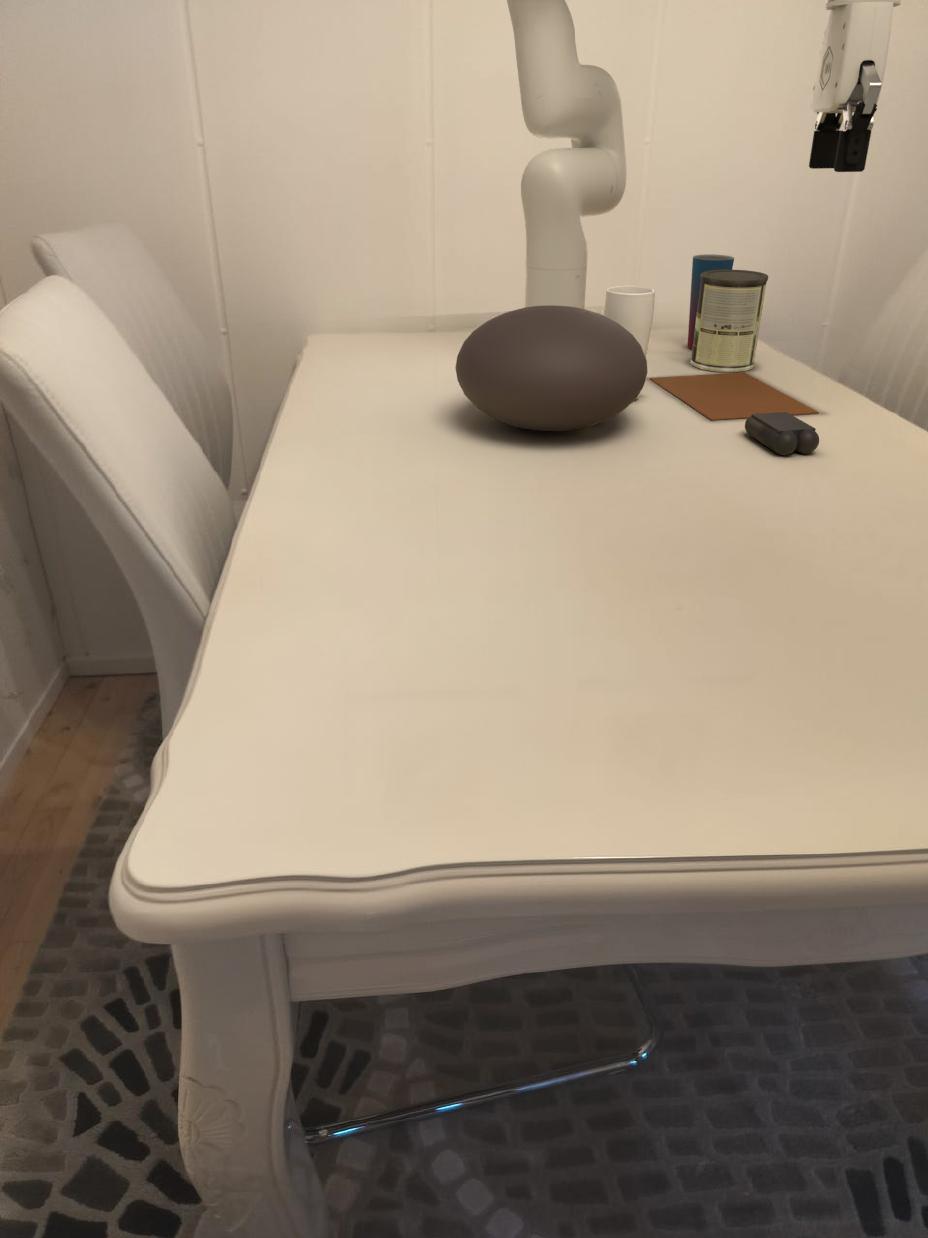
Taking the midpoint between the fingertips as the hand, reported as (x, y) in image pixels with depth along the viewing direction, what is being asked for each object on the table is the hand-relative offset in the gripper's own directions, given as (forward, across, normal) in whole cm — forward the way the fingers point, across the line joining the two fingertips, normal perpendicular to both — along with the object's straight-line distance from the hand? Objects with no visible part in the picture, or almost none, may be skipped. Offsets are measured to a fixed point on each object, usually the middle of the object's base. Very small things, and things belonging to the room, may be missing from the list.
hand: (835, 169), depth 103 cm
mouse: (+30, +8, -4) cm, 32 cm away
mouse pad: (+30, -14, -5) cm, 34 cm away
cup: (+30, -45, -4) cm, 54 cm away
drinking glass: (+30, -12, -21) cm, 39 cm away
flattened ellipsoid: (+30, +1, -32) cm, 44 cm away
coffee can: (+30, -33, -3) cm, 44 cm away
